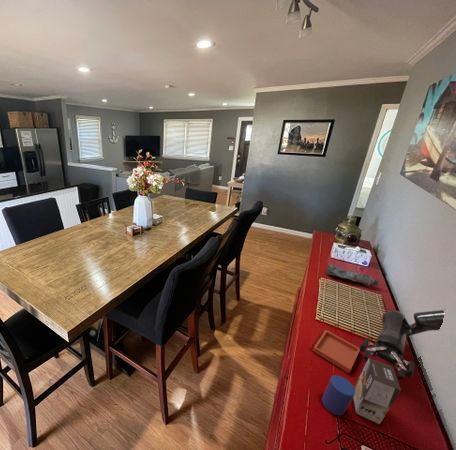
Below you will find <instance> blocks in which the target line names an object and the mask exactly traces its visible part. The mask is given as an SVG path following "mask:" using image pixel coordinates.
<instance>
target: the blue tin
mask: <svg viewBox="0 0 456 450" xmlns="http://www.w3.org/2000/svg"><path fill="white" fill-rule="evenodd" d="M354 386H355V385H353V384H352V382H351V381H349V380H348V379H347V378H345V377H343V376H341V375H336V374H335V375H332V376H331V377H330V379H329V381H328V383H327V385H326V388H325V390H324V392H323V394H322V397H321V402H322V404H323V406H324V408H325V409H326V410H327V411H328V412H330V413H331V414H333V415H336V416H344V415H345V413H346V411H347V409H348V407H349V406H350V404H351V402H352V401H353V399H354V398H353V396H354V395H355V388H354Z"/></svg>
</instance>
